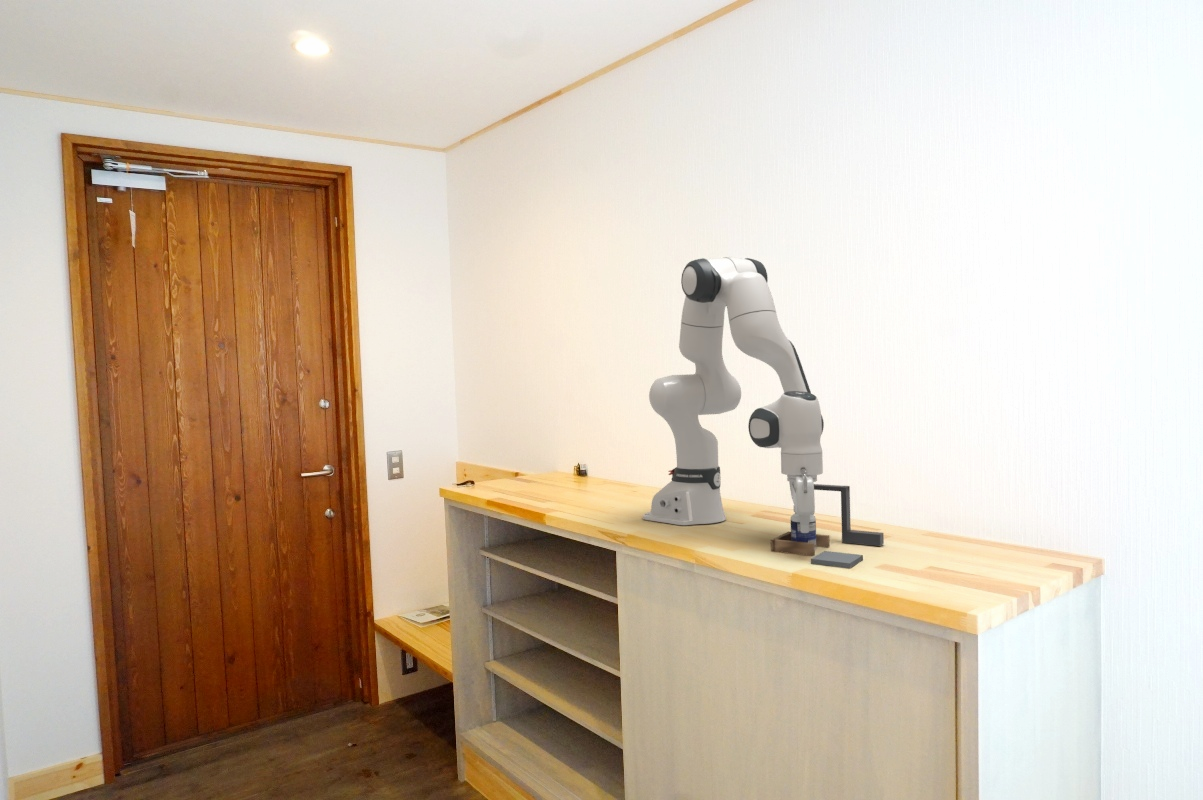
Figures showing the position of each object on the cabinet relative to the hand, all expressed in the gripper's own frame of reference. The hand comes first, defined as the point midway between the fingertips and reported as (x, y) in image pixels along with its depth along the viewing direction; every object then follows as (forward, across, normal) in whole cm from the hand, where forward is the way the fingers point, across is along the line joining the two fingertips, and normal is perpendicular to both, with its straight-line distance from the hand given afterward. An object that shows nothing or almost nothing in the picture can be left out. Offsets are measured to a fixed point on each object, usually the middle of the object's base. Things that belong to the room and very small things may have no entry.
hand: (803, 528), depth 171 cm
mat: (+5, -11, -6) cm, 13 cm away
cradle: (+5, 0, 0) cm, 5 cm away
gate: (+4, +8, -10) cm, 13 cm away
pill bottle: (+5, 0, 0) cm, 5 cm away
